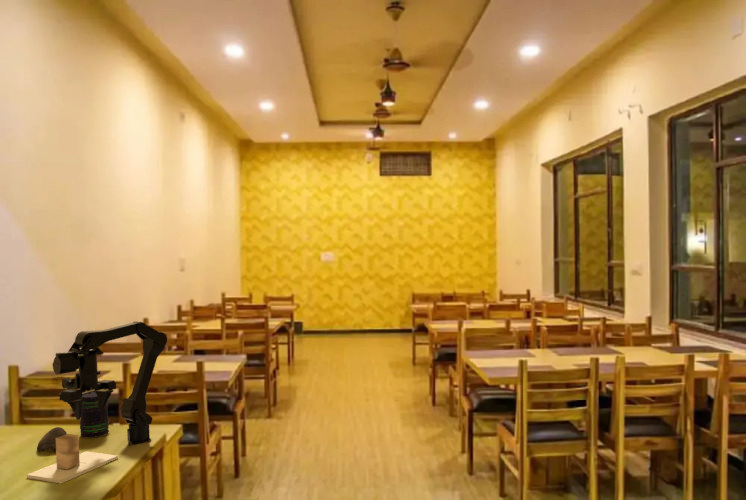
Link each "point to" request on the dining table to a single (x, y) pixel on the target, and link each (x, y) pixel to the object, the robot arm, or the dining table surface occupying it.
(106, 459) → the board
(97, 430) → the storage jar
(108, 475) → the dining table surface
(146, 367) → the robot arm
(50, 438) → the stone
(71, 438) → the block
